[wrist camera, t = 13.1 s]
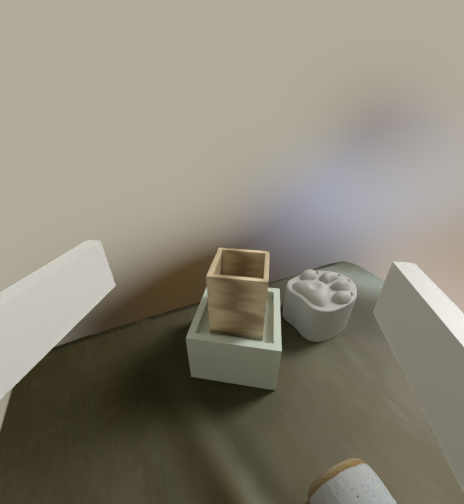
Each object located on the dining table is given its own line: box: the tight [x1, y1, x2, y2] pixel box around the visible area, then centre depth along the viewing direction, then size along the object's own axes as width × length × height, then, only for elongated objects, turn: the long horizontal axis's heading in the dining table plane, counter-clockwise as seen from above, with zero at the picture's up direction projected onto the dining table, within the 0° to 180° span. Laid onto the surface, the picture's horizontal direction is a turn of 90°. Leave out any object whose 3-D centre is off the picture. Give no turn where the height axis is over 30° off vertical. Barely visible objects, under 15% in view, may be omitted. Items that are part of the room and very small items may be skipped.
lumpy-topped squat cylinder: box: [282, 270, 357, 342], centre depth 43 cm, size 10×13×9 cm
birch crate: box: [206, 248, 269, 340], centre depth 32 cm, size 8×8×10 cm
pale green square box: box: [186, 288, 282, 390], centre depth 36 cm, size 13×13×8 cm
